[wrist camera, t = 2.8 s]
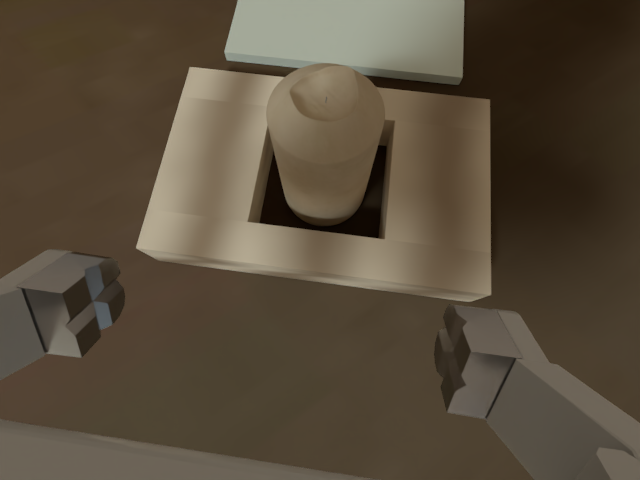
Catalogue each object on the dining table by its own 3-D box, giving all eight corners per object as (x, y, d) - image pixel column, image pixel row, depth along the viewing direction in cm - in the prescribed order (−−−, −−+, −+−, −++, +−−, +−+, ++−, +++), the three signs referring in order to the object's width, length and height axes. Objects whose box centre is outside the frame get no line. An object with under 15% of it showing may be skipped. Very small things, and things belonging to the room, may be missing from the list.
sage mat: (226, 60, 28) (224, 52, 27) (255, -49, 31) (253, -59, 31) (458, 85, 27) (462, 77, 26) (461, -30, 31) (465, -40, 30)
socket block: (158, 260, 23) (136, 248, 20) (203, 97, 27) (190, 66, 24) (469, 301, 22) (491, 295, 19) (471, 127, 26) (490, 99, 23)
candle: (328, 141, 26) (332, 18, 16) (380, 194, 25) (418, 95, 15) (268, 186, 25) (234, 82, 15) (319, 244, 24) (318, 171, 14)
